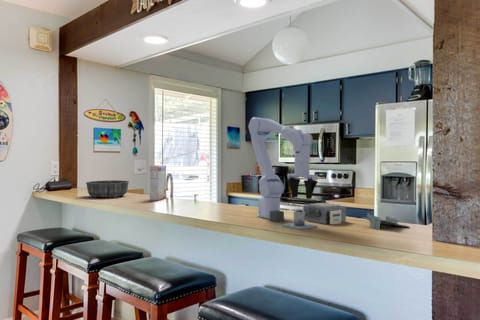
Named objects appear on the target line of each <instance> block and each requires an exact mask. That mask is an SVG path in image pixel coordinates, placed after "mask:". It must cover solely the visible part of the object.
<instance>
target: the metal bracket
mask: <svg viewBox="0 0 480 320" xmlns="http://www.w3.org/2000/svg"><path fill="white" fill-rule="evenodd" d="M361 218H362V219H365V220H366V221H368V222H369V229H374V230H380V228H381V225H387V226H395V227H402V228H411V227H410V226H409V225H404V224H399V223H398V221H399V220H398V219H396V218H393V217H390V216H389V215H386V216H385V219H381V218H380V217H378V216H376V215H371V213H367V215H366V217H364V216H362V217H361Z"/></svg>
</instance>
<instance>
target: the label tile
mask: <svg viewBox="0 0 480 320" xmlns="http://www.w3.org/2000/svg"><path fill="white" fill-rule="evenodd" d="M330 224H331V225H332V224H333V225H338V224H342V222H341V210H339V211H330ZM330 224H329V225H330Z"/></svg>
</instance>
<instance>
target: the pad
mask: <svg viewBox="0 0 480 320" xmlns="http://www.w3.org/2000/svg"><path fill="white" fill-rule="evenodd" d="M282 227H285V228H291V229H294V228H295V229H294V230H298V229H299V231H300V229H302V230H307V229H308V228H309V229H314V228H315V229H316V228H318V225H316V224H311V223H306V222H305V225H304V226H295V225H294V222H290V223H283V224H282Z"/></svg>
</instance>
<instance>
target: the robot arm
mask: <svg viewBox="0 0 480 320" xmlns="http://www.w3.org/2000/svg"><path fill="white" fill-rule="evenodd" d="M248 130H249V134H250V139H251V140H250V141H251V144H252V146H253V151H254V154H255V158H256V162H257V165H258V167H259V171H260V175H261V177H260V179H259V180H258V185H259V189H258V190H259V193H260V194H261V197H259V199H258V203H257V204H258V205H257V206H258V210H257V211H258V212H257V214H256V216H257V217H258V218H264V219H269V220H270V211H277V210H278V211H281V197H282V195H283V194H284V192H285V185H284V183H283V181H282V180H281V179H280V177H279V175H277V174H276V173H275V172H274V168H273V165H272V162H271V159H270V155H269V152H268V149H267V146H266V142H265V140H267V139H268V138H269V136H270V134H271V132H272V131H274V132H275V133H278V134H280V135H281V138H282V139H284V140H285V141H287V142H289V143H291V144H292V146H293V150H294V173H287V179H286V182H287V184H288V186H289V188H290V191H291V197H292V198H298V197H299V196H298V195H299V186H300V182H301V180H303V183H304V187H305V198H306V200H310V199H312V198H313V193H314V190H315V188H316V187H317V184H318V181H319V180H318V179H319V177H318V174H310V162H311V161H310V160H311V158H310V153H311V152H310V151H311V149H310V148H311V146H312V145H313V142H314V141H313V139H314V138H313V135H312V134H310V133H309V132H303V131H302V130H301V129H297V128H295V125H291V124H290V125H285V126H284V125H283V124H280V123H279V122H278V121H275V120H274V119H271V118H261V117H255V116H253V117H252V118H251V119H250V121H249V123H248Z"/></svg>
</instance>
